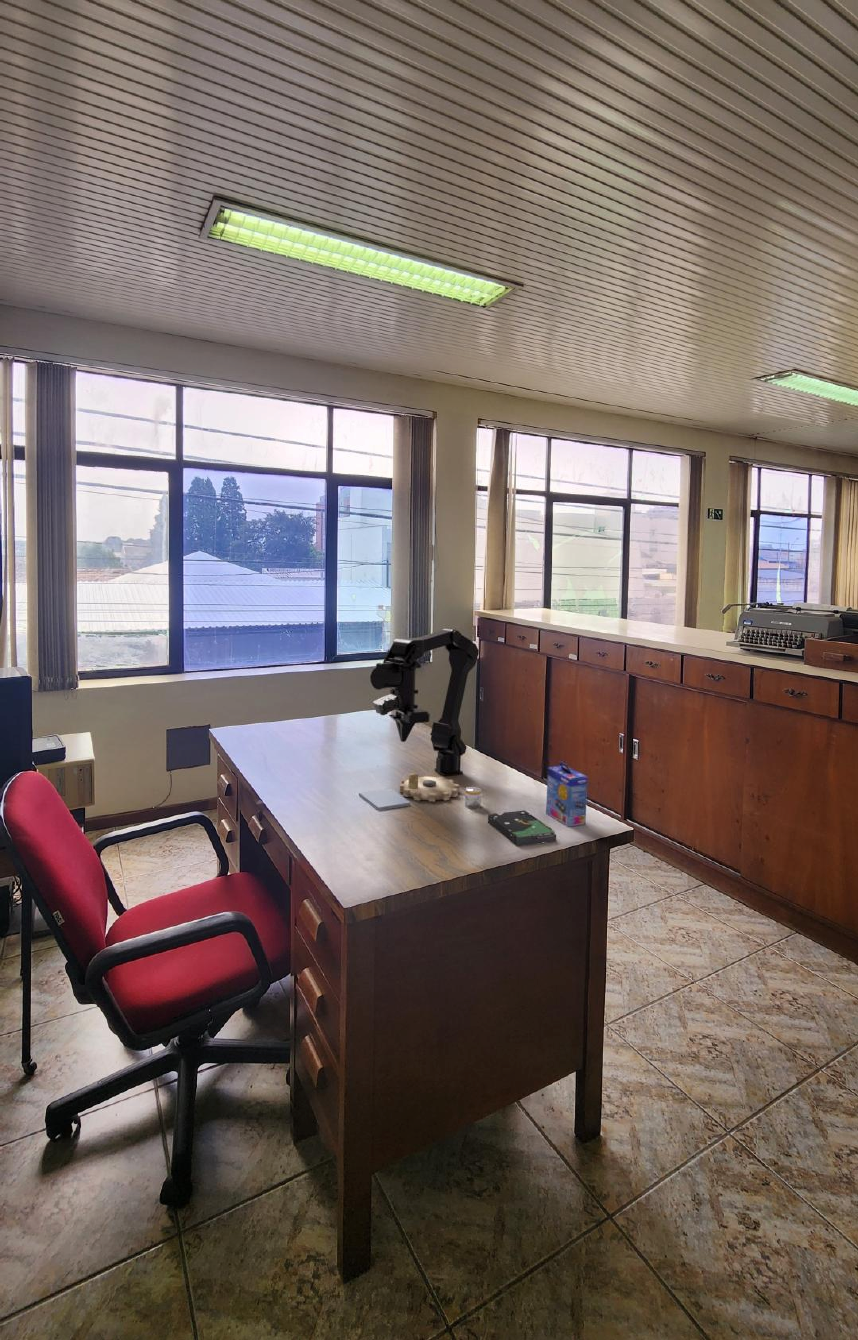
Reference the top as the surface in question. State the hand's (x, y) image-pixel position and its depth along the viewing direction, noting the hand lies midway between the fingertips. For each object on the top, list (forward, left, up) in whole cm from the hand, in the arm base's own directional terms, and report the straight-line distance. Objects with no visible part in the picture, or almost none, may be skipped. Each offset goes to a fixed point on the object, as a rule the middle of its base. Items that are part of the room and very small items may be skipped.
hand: (403, 741), depth 184 cm
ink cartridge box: (-26, +38, -13) cm, 48 cm away
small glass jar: (-10, +21, -13) cm, 26 cm away
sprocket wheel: (-5, +7, -13) cm, 15 cm away
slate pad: (+9, +8, -13) cm, 18 cm away
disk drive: (-11, +40, -14) cm, 43 cm away
